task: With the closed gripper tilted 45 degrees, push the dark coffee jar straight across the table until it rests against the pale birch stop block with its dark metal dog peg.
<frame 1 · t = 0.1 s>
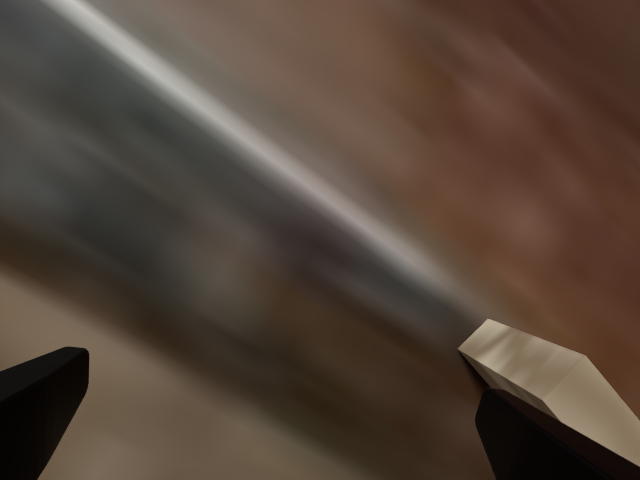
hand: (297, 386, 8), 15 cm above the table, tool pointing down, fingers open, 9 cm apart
bench stop: (560, 434, 26), on the table
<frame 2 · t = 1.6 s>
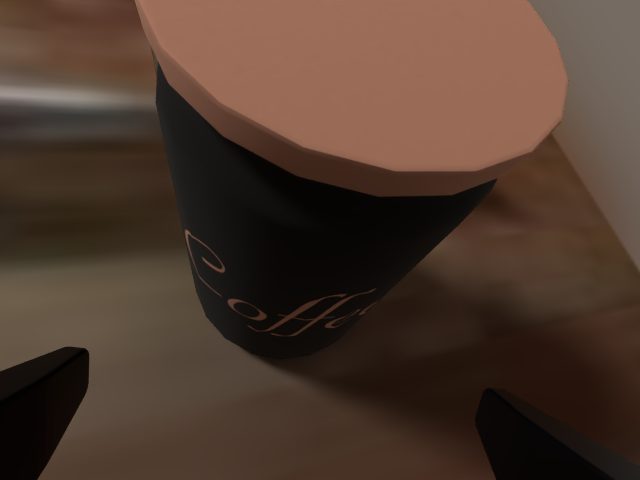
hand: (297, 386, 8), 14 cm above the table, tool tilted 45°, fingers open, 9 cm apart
coffee jar: (281, 280, 25), on the table
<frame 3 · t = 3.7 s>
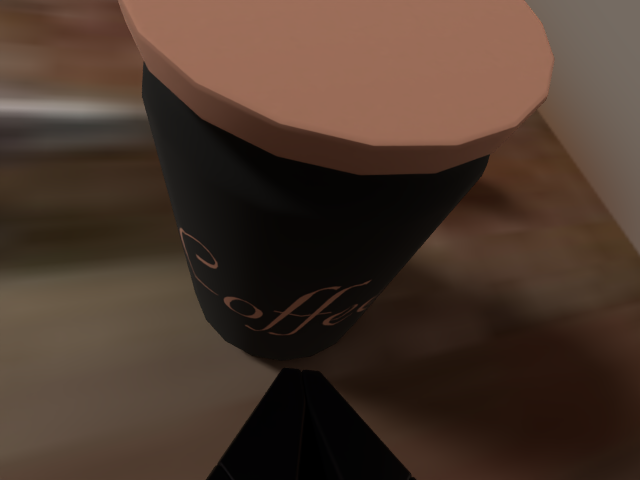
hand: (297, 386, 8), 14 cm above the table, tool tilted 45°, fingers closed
coffee jar: (281, 282, 24), on the table
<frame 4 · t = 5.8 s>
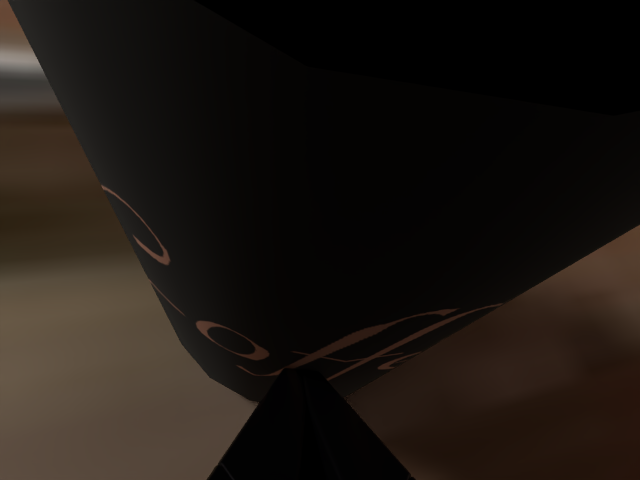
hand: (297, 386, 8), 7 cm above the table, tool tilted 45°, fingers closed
coffee jar: (292, 288, 17), on the table, touching gripper
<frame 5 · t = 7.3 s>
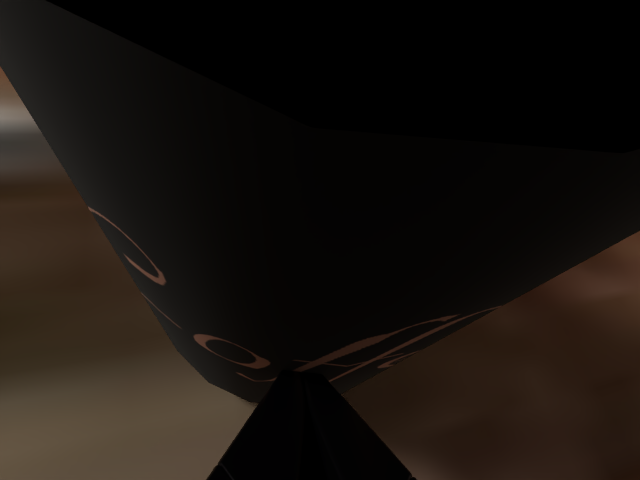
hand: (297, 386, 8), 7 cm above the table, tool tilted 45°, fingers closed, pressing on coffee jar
bench stop: (295, 172, 21), on the table
coffee jar: (285, 286, 17), on the table, touching bench stop, gripper
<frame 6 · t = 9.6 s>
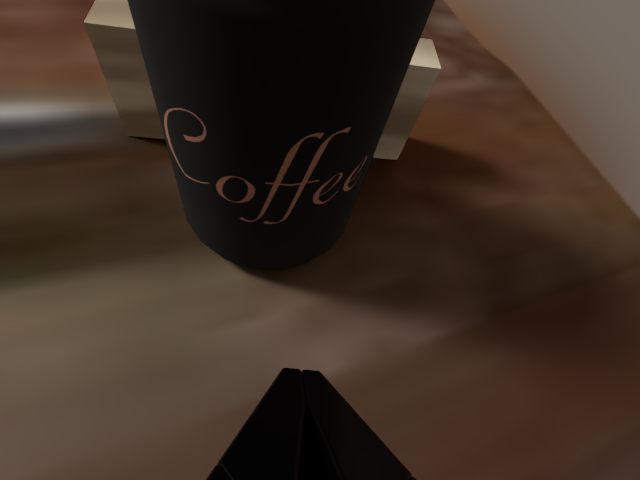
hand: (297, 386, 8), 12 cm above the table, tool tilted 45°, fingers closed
bench stop: (270, 134, 28), on the table
coffee jar: (268, 208, 25), on the table
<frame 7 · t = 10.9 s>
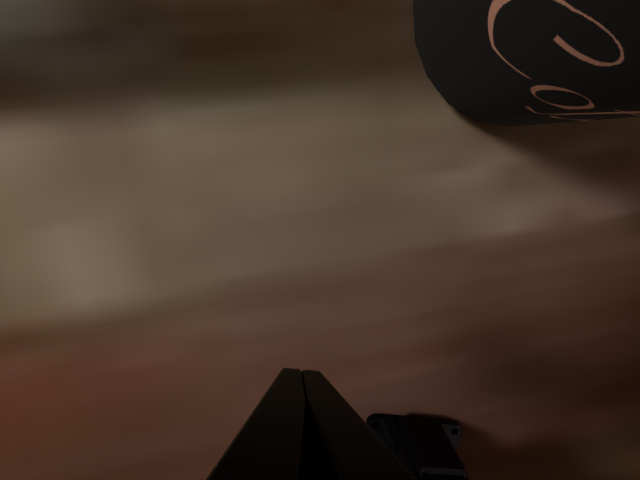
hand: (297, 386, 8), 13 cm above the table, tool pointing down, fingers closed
coffee jar: (503, 19, 19), on the table
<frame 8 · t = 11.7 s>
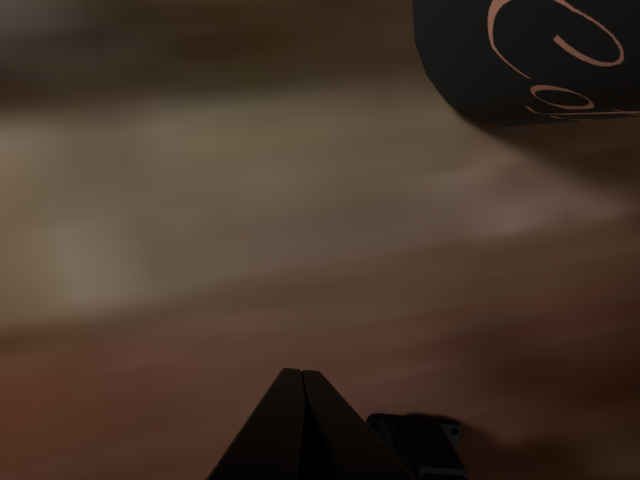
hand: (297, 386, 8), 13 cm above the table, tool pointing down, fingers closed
coffee jar: (503, 19, 19), on the table
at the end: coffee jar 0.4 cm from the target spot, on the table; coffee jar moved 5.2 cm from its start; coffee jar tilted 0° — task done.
